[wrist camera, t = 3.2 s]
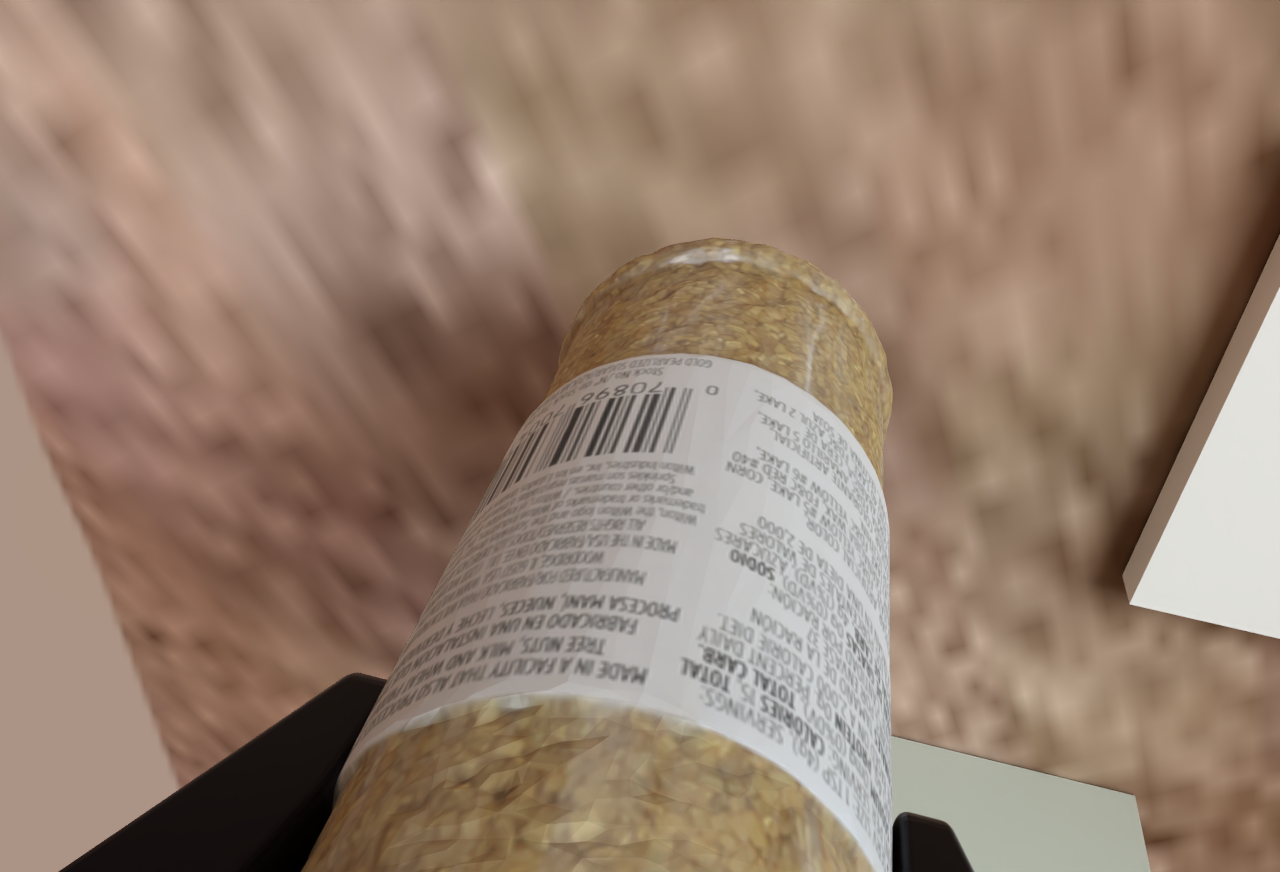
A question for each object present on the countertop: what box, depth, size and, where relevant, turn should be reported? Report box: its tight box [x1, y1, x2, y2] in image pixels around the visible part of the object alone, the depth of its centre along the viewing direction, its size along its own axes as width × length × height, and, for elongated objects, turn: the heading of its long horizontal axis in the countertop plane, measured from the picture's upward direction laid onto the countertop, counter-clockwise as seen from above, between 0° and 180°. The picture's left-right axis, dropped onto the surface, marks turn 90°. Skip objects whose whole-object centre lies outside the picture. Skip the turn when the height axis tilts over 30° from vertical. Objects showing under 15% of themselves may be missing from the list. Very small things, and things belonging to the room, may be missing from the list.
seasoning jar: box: [301, 238, 893, 872], centre depth 10 cm, size 5×5×14 cm
